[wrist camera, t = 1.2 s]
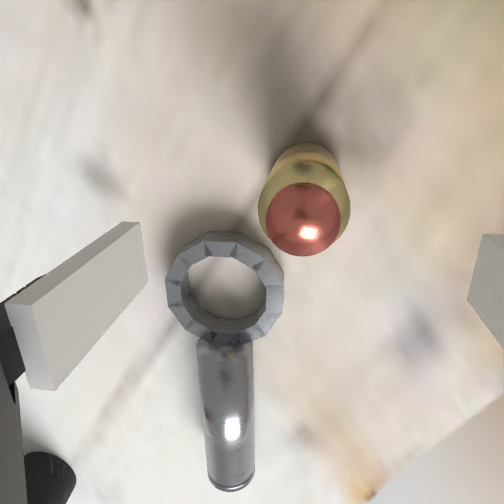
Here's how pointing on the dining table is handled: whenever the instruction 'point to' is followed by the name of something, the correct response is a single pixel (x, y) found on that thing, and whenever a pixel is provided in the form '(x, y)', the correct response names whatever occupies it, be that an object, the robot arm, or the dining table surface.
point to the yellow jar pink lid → (304, 201)
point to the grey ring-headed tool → (226, 353)
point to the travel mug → (47, 479)
